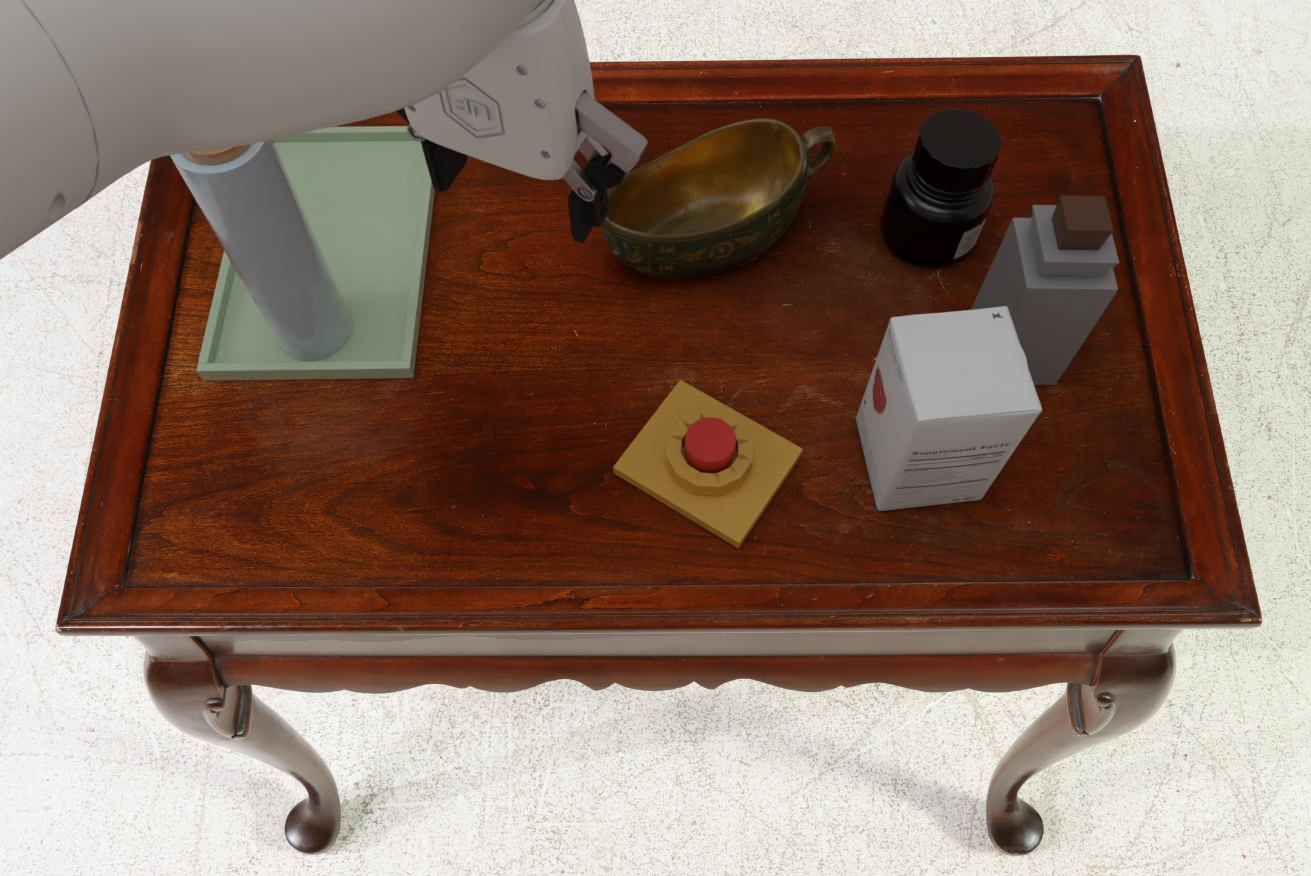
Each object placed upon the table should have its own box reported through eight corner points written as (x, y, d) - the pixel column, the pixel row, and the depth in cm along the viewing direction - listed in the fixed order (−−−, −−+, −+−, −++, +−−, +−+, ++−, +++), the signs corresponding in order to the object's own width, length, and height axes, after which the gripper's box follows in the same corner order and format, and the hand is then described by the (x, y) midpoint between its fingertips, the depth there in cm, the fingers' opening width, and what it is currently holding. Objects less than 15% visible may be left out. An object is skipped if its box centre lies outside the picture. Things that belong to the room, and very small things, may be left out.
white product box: (852, 416, 87) (887, 311, 73) (956, 406, 87) (1010, 300, 74) (874, 514, 82) (916, 422, 69) (984, 503, 83) (1046, 409, 70)
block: (738, 549, 81) (741, 534, 78) (613, 473, 84) (611, 456, 81) (802, 455, 85) (806, 438, 82) (679, 386, 88) (680, 367, 85)
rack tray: (413, 378, 88) (409, 368, 87) (203, 380, 88) (195, 370, 87) (441, 137, 102) (438, 125, 100) (258, 139, 101) (252, 127, 100)
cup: (821, 304, 92) (839, 230, 83) (599, 290, 93) (593, 215, 84) (821, 194, 98) (838, 114, 89) (613, 181, 99) (609, 101, 90)
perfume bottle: (1055, 385, 88) (1143, 250, 72) (976, 383, 88) (1047, 249, 72) (1042, 320, 91) (1124, 178, 76) (966, 319, 91) (1031, 177, 76)
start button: (717, 480, 81) (718, 470, 79) (674, 455, 82) (675, 445, 80) (744, 443, 82) (745, 433, 81) (701, 419, 83) (702, 408, 82)
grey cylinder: (316, 374, 88) (211, 177, 67) (260, 338, 90) (140, 135, 69) (368, 321, 91) (282, 116, 70) (312, 287, 92) (211, 77, 71)
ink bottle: (980, 275, 94) (1022, 183, 83) (883, 272, 94) (913, 180, 83) (968, 193, 98) (1007, 97, 88) (876, 191, 98) (903, 94, 88)
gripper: (279, -44, 49) (368, 198, 64) (605, 62, 46) (618, 291, 61) (363, -133, 52) (429, 117, 67) (674, -40, 49) (670, 202, 64)
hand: (519, 200), depth 64 cm, fingers open, 9 cm apart
